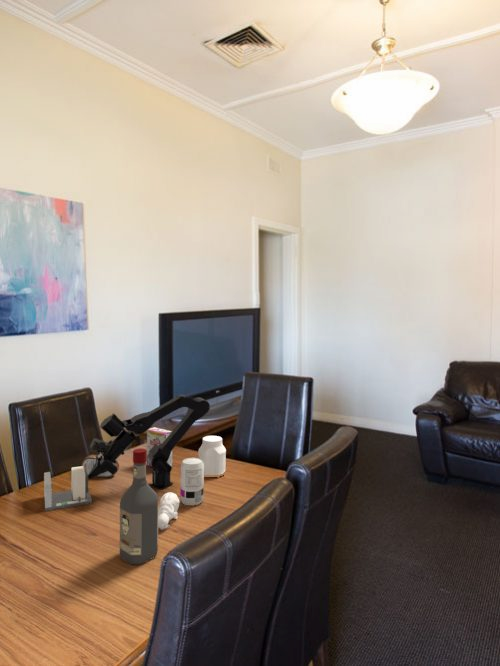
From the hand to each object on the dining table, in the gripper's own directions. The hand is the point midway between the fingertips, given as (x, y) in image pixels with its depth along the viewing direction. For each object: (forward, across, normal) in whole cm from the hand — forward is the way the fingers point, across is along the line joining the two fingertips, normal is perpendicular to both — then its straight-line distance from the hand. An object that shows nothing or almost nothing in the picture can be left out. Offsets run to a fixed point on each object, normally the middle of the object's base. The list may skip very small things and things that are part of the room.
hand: (88, 477), depth 162 cm
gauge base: (+10, 0, 0) cm, 10 cm away
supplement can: (-18, +19, +29) cm, 39 cm away
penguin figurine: (-9, +30, +20) cm, 37 cm away
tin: (+1, -19, +10) cm, 21 cm away
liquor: (-1, +45, +11) cm, 47 cm away
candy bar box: (-17, -19, +27) cm, 37 cm away
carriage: (+6, +1, +2) cm, 7 cm away
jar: (-30, -4, +40) cm, 50 cm away
